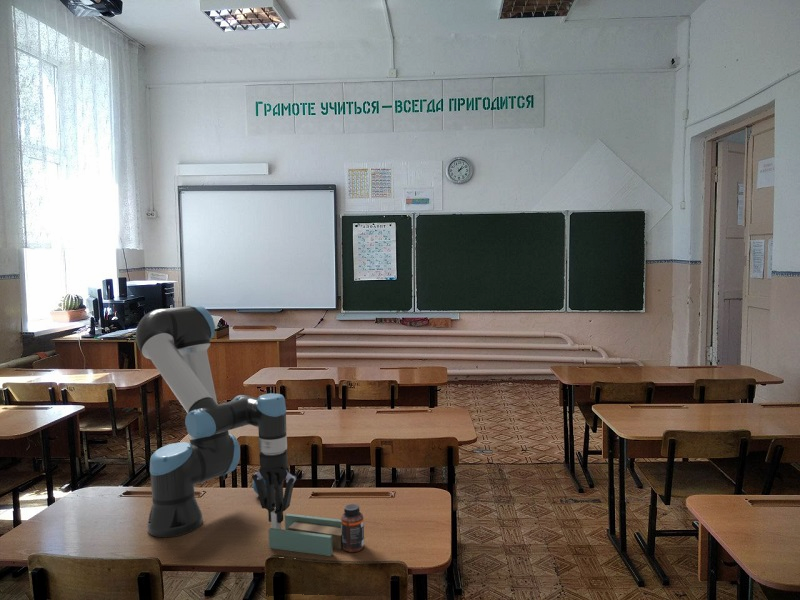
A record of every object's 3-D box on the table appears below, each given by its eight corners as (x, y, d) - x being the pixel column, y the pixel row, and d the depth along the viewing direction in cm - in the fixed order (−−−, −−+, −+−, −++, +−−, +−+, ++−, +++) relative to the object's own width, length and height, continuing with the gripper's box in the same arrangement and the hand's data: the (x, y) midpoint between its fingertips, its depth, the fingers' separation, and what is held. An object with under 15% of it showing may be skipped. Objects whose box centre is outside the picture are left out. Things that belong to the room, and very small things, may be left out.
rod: (288, 541, 165) (288, 527, 165) (296, 534, 169) (295, 521, 168) (341, 549, 160) (340, 535, 159) (347, 542, 163) (346, 528, 163)
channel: (269, 547, 161) (268, 530, 161) (287, 530, 171) (286, 513, 171) (330, 556, 156) (330, 537, 155) (345, 537, 166) (345, 520, 165)
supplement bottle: (369, 547, 160) (367, 506, 159) (351, 555, 156) (350, 513, 155) (355, 540, 164) (353, 500, 163) (337, 547, 160) (336, 507, 159)
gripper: (245, 453, 162) (248, 536, 165) (288, 457, 159) (291, 542, 161) (259, 444, 170) (262, 524, 172) (300, 448, 166) (303, 529, 168)
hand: (276, 532), depth 166 cm, fingers closed
